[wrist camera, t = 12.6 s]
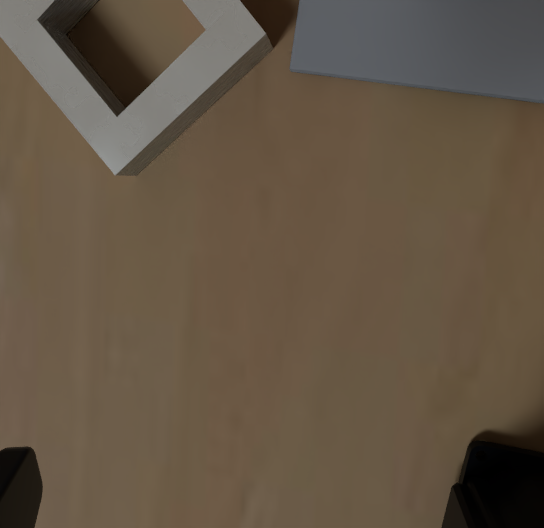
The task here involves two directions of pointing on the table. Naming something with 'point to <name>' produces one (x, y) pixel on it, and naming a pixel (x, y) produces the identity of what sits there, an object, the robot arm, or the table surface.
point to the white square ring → (156, 97)
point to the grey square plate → (426, 44)
